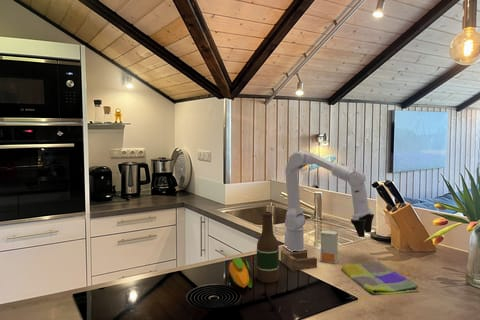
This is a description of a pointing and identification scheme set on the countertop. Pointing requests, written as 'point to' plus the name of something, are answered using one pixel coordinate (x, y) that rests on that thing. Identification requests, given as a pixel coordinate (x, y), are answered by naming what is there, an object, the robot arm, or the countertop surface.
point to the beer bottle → (267, 252)
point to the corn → (240, 272)
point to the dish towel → (379, 278)
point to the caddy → (298, 260)
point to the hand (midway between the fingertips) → (365, 234)
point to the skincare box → (329, 246)
